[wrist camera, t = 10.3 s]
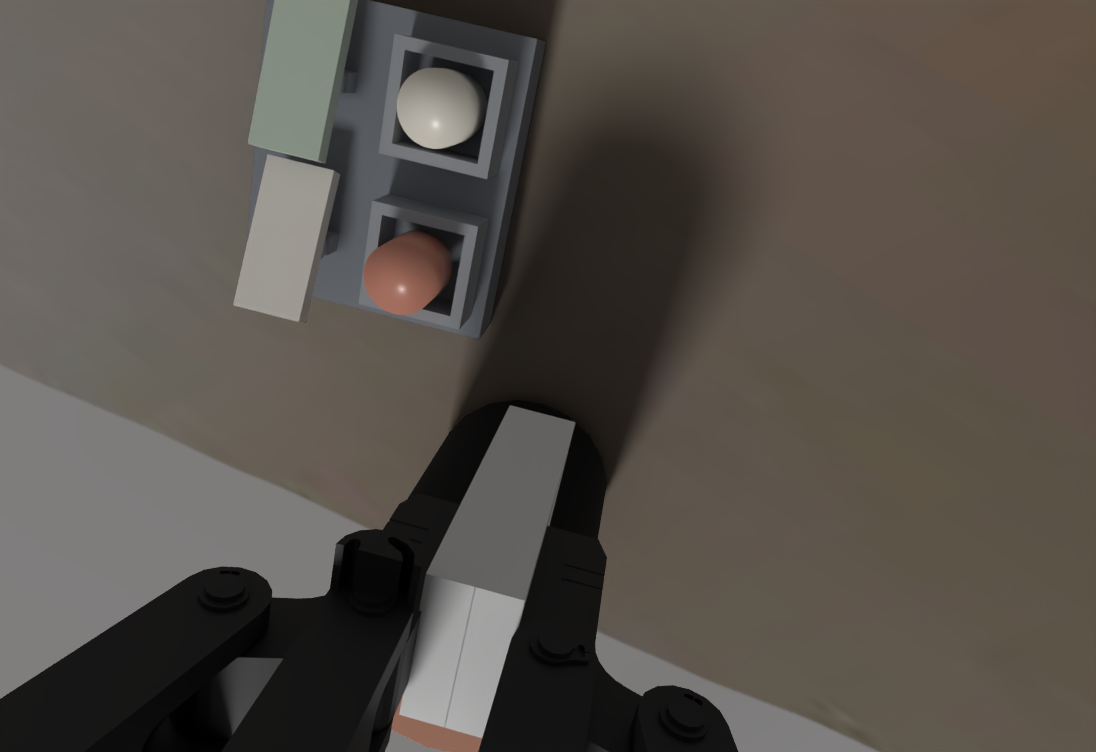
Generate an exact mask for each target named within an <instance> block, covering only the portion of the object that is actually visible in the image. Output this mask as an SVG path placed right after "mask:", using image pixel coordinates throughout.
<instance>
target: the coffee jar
mask: <svg viewBox="0 0 1096 752" xmlns="http://www.w3.org/2000/svg"><path fill="white" fill-rule="evenodd" d="M510 405H511V406H515V407H519V408H523V409H527V410H530V411H534V412H538V413H542V414H546V415H550V416H554V417H557V418H561V419H565V420H569V421H573V420H572V419H570V418H569V417H568V416H566V415H564V414H562V413H560V412H558V411H556V410H554V409H552V408H550V407H548V406H546V405H543V404H537V403H531V402H525V401H519V400H516V401H508V402H501V403H493V404H489V405H487V406H485V407H483V408H481V409H478V410H476V411H474V412H472V413H470V414H468V415H466V416H465V417H464V418H463V419H462V420H461V421H460V422H459V423H458V424H457V425H456V426H455V427H454V428H453V429H452V430H451V431H450V433H449V434H448V436H447V437H446V439H445V440H444V442H443V444H442V445H441V447H440V448H439V450H438V452H437V453H436V455H435V456H434V458H433V459H432V461H431V463H430V464H429V466H428V467H427V469H426V471H425V472H424V474H423V475H422V477H421V478H420V480H419V482H418V483H417V485H416V486H415V488H414V490H413V491H412V493H411V494H410V496H409V497H408V499H409V498H411V497H413V496H415V495H416V494H418V493H419V494H423V495H427V496H431V497H434V498H438V499H442V500H445V501H449V502H453V503H457V504H461V502H462V500H463V498H464V496H465V494H466V492H467V490H468V488H469V486H470V484H471V482H472V480H473V478H474V476H475V474H476V472H477V470H478V468H479V466H480V464H481V462H482V460H483V458H484V456H485V454H486V452H487V450H488V448H489V446H490V444H491V442H492V440H493V438H494V436H495V434H496V432H497V430H498V428H499V426H500V424H501V422H502V420H503V418H504V416H505V414H506V412H507V410H508V408H509V406H510ZM573 422H574V421H573ZM606 484H607V482H606V477H605V471H604V466H603V461H602V458H601V456H600V454H599V452H598V450H597V449H596V447H595V445H594V443H593V442H592V440H591V438H590V436H589V435H588V434H587V433H586V432H585V431H583V430H582V429H581V428H580V427H579V426H578V425H577V424H576V423H575V426H574V430H573V434H572V438H571V442H570V446H569V450H568V454H567V458H566V462H565V466H564V470H563V474H562V478H561V482H560V486H559V490H558V494H557V498H556V502H555V506H554V510H553V514H552V518H551V522H550V527H554V528H557V529H561V530H565V531H569V532H572V533H576V534H580V535H583V536H587V537H591V538H595V539H598V533H599V527H600V521H601V515H602V509H603V503H604V496H605V490H606ZM402 697H403V696H402ZM401 702H402V699H401V701H400V703H399V705H398V708H397V710H396V712H395V715H394V717H393V723H392V728H391V729H392V730H393V731H395V732H397V733H399V734H401V735H403V736H405V737H407V738H410V739H412V740H414V741H416V742H418V743H420V744H422V745H424V746H426V747H430V748H435V749H439V750H444V751H449V752H478V751H479V747H480V744H481V741H482V738H479V737H476V736H472V735H469V734H465V733H462V732H458V731H455V730H451V729H448V728H444V727H441V726H437V725H434V724H430V723H427V722H423V721H420V720H416V719H413V718H409V717H406V716H402V715H399V713H400V707H401Z"/></svg>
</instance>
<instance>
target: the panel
mask: <svg viewBox="0 0 1096 752" xmlns="http://www.w3.org/2000/svg"><path fill="white" fill-rule="evenodd" d="M273 5H274V0H266V8H265V21H264V34H263V47H262V59H261V70H262V64H263V59H264V54H265V48H266V43H267V38H268V32H269V27H270V22H271V16H272V11H273ZM545 45H546V42H545V41H542V40H539V39H535V38H531V37H526V36H522V35H518V34H513V33H509V32H505V31H500V30H496V29H492V28H487V27H483V26H479V25H474V24H470V23H466V22H462V21H457V20H453V19H449V18H444V17H440V16H436V15H431V14H427V13H423V12H418V11H414V10H410V9H405V8H401V7H397V6H392V5H388V4H384V3H380V2H375V1H371V0H358V4H357V9H356V14H355V19H354V24H353V29H352V34H351V39H350V44H349V49H348V54H347V59H346V64H345V69H344V73H345V75H346V85H345V89H344V91H343V92H342V93H340V94H339V99H338V104H337V109H336V114H335V119H334V124H333V128H332V133H331V138H330V143H329V148H328V153H327V158H326V163H321V162H317V161H313V160H309V159H305V158H301V157H297V156H293V155H289V154H285V153H281V152H276V151H272V150H268V149H264V148H260V147H256V146H255V150H254V163H253V176H252V188H251V201H250V214H249V227H248V238H249V233H250V229H251V225H252V220H253V216H254V211H255V207H256V203H257V198H258V194H259V189H260V185H261V181H262V176H263V172H264V167H265V163H266V159H267V154H269V155H273V156H277V157H281V158H285V159H289V160H293V161H297V162H301V163H305V164H310V165H314V166H318V167H322V168H326V169H330V170H334V171H336V172H337V173H339V174H340V178H339V182H338V187H337V191H336V195H335V200H334V204H333V208H332V212H331V217H330V221H329V225H328V230H327V234H326V238H325V240H326V241H327V250H326V253H325V255H324V257H323V258H321V260H320V264H319V268H318V272H317V277H316V281H315V285H314V290H313V294H312V297H315V298H319V299H323V300H327V301H331V302H335V303H339V304H343V305H347V306H351V307H354V308H358V309H362V310H366V311H370V312H374V313H378V314H382V315H386V316H390V317H394V318H398V319H401V320H405V321H409V322H413V323H417V324H421V325H425V326H429V327H433V328H437V329H441V330H445V331H448V332H452V333H456V334H460V335H464V336H468V337H472V338H476V339H479V338H480V337H481V336H482V334H483V333H484V332H485V330H486V329H487V328H488V326H489V325H490V322H491V317H492V312H493V307H494V302H495V297H496V292H497V287H498V282H499V276H500V271H501V266H502V261H503V256H504V251H505V246H506V241H507V236H508V231H509V226H510V221H511V216H512V211H513V206H514V201H515V196H516V191H517V186H518V181H519V176H520V171H521V166H522V161H523V156H524V151H525V146H526V140H527V135H528V130H529V125H530V120H531V115H532V110H533V105H534V100H535V95H536V90H537V85H538V80H539V75H540V70H541V65H542V60H543V55H544V50H545ZM425 68H448V69H458V70H461V71H464V72H466V73H468V74H470V75H471V76H472V77H474V78H475V79H476V80H477V82H478V83H479V84H480V86H481V87H482V89H483V91H484V93H485V96H486V100H487V114H486V119H485V122H484V124H483V126H482V128H481V130H480V131H479V132H478V133H477V134H476V135H475V136H474V137H473V138H471V139H470V140H468V141H465V142H463V143H459V144H456V145H452V146H449V147H445V148H441V149H431V148H427V147H423V146H421V145H419V144H417V143H416V142H414V141H413V140H412V139H411V138H410V137H409V136H408V135H407V134H406V133H405V131H404V130H403V128H402V126H401V124H400V122H399V118H398V114H397V98H398V94H399V91H400V89H401V87H402V85H403V83H404V82H405V81H406V79H407V78H408V77H409V76H411V75H412V74H413V73H415V72H417V71H419V70H421V69H425ZM260 75H261V72H260ZM412 230H422V231H426V232H429V233H431V234H433V235H435V236H437V237H438V238H439V239H440V240H441V241H442V242H443V243H444V244H445V245H446V246H447V248H448V250H449V252H450V254H451V257H452V262H453V272H452V276H451V279H450V281H449V283H448V285H447V286H446V287H445V288H444V289H443V290H442V291H441V292H440V293H439V294H438V295H437V296H436V297H435V298H434V299H433V300H432V301H430V302H429V303H428V304H427V305H426V306H425V307H424V308H423V309H421V310H420V311H418V312H416V313H413V314H409V315H397V314H393V313H389V312H387V311H385V310H383V309H382V308H380V307H379V306H378V305H377V304H376V303H375V302H374V301H373V300H372V299H371V297H370V296H369V294H368V292H367V290H366V287H365V284H364V276H363V274H364V267H365V263H366V261H367V259H368V257H369V256H370V254H371V253H372V252H373V251H374V250H375V249H377V248H378V247H380V246H381V245H383V244H385V243H387V242H389V241H390V240H392V239H394V238H396V237H397V236H399V235H401V234H403V233H405V232H407V231H412ZM247 242H248V240H247Z"/></svg>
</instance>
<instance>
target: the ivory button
mask: <svg viewBox="0 0 1096 752" xmlns="http://www.w3.org/2000/svg"><path fill="white" fill-rule="evenodd" d="M397 114H398V118H399V122H400V124H401V126H402V128H403V130H404V131H405V133H406V134H407V135H408V136H409V137H410V138H411V139H412V140H413V141H414V142H416V143H417V144H419V145H421V146H423V147H427V148H431V149H441V148H445V147H449V146H452V145H456V144H459V143H463V142H465V141H468V140H470V139H471V138H473V137H474V136H475V135H476V134H477V133H478V132H479V131H480V130H481V128H482V126H483V124H484V122H485V119H486V114H487V100H486V96H485V93H484V91H483V89H482V87H481V86H480V84H479V83H478V82H477V80H476V79H475V78H474V77H472V76H471V75H470V74H468V73H466V72H464V71H461V70H458V69H448V68H425V69H421V70H419V71H417V72H415V73H413V74H412V75H411V76H409V77H408V78H407V79H406V81H405V82H404V83H403V85H402V87H401V89H400V91H399V94H398V98H397Z"/></svg>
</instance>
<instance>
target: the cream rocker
mask: <svg viewBox="0 0 1096 752" xmlns="http://www.w3.org/2000/svg"><path fill="white" fill-rule="evenodd" d="M339 178H340V174H339V173H337V172H336V171H334V170H330V169H326V168H322V167H318V166H314V165H310V164H305V163H301V162H297V161H293V160H289V159H285V158H281V157H277V156H273V155H269V154H267V159H266V163H265V167H264V172H263V176H262V181H261V185H260V189H259V194H258V198H257V203H256V207H255V211H254V216H253V220H252V225H251V229H250V233H249V238H248V242H247V247H246V251H245V255H244V260H243V264H242V268H241V273H240V277H239V282H238V286H237V290H236V295H235V299H234V304H233V305H234V306H238V307H242V308H246V309H250V310H254V311H258V312H262V313H265V314H269V315H273V316H277V317H281V318H285V319H289V320H293V321H297V322H306V320H307V315H308V311H309V307H310V302H311V298H312V294H313V290H314V285H315V281H316V277H317V272H318V268H319V264H320V260H321V258H323V257H324V255H325V253H326V250H327V241H326V240H325V238H326V234H327V230H328V225H329V221H330V217H331V212H332V208H333V204H334V200H335V195H336V191H337V187H338V182H339Z"/></svg>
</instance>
